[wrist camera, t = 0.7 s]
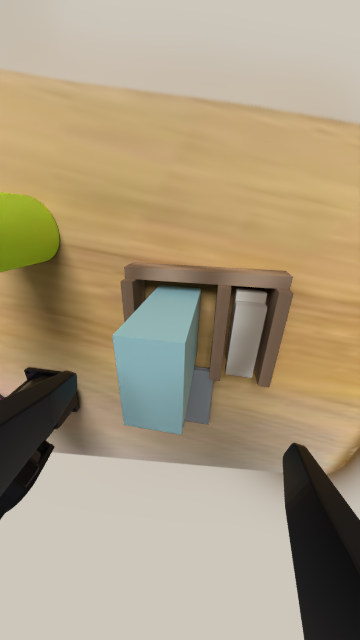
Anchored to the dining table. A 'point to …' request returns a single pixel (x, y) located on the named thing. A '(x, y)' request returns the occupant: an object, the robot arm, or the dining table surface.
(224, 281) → the walnut rack
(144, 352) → the light blue rectangular prism
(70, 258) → the dining table surface
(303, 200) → the dining table surface
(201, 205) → the dining table surface
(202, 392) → the slate mat
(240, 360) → the gray notched block
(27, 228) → the soap dispenser
